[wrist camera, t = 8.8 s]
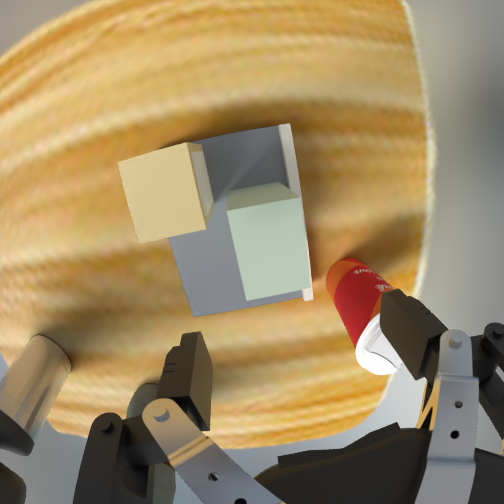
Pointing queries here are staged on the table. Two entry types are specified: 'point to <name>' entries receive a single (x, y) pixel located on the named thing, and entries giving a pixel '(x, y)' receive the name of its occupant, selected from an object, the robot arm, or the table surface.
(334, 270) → the paper cup
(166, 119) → the table surface
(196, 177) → the mustard box
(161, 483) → the bottle
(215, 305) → the display board
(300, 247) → the tea box
